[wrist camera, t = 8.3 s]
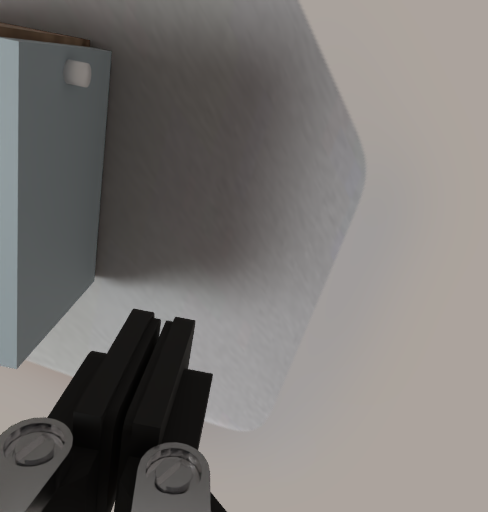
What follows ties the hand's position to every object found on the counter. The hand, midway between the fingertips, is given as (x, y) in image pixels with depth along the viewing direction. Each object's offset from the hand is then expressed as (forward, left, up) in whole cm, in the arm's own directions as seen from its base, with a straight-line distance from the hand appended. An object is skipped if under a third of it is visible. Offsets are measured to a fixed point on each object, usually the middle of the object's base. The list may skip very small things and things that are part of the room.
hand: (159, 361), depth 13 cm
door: (+2, -9, -22) cm, 24 cm away
